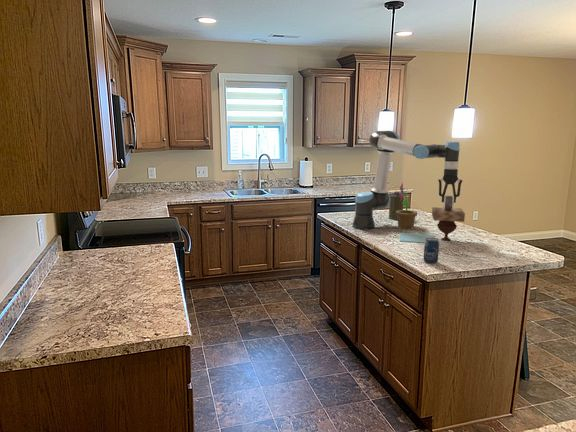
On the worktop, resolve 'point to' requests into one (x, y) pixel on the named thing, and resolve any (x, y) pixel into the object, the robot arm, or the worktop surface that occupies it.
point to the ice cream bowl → (446, 228)
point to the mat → (414, 237)
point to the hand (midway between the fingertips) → (448, 207)
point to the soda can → (431, 250)
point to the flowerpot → (405, 213)
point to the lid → (448, 212)
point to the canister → (395, 205)
